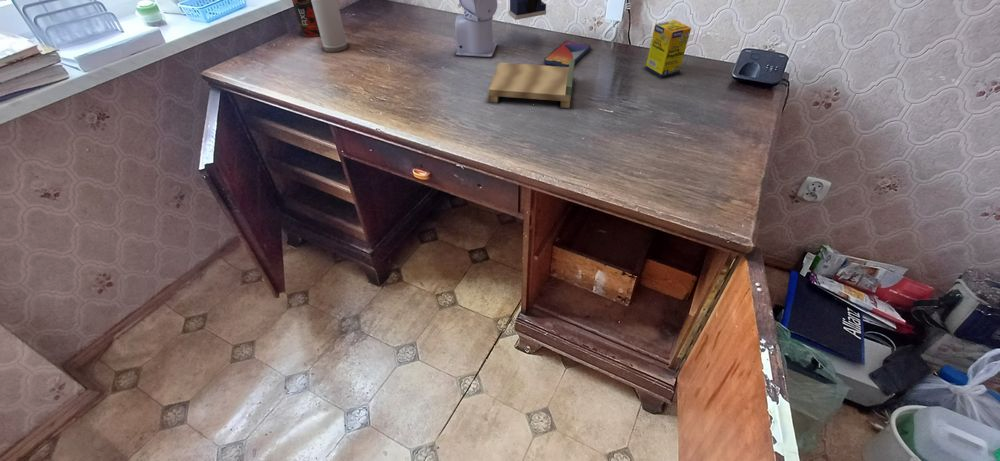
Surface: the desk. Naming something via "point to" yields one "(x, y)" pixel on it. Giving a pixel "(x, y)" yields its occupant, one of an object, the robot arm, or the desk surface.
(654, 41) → the supplement box
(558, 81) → the shelf
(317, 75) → the desk surface
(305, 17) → the deodorant
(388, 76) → the desk surface
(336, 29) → the travel mug
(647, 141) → the desk surface
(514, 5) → the white-based navy block
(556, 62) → the smartphone
